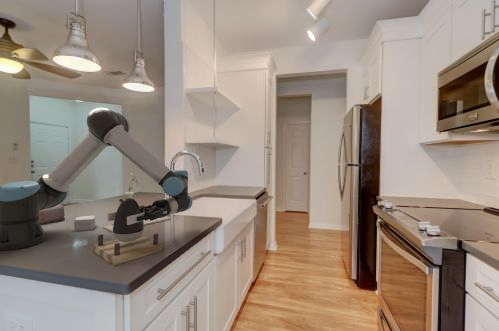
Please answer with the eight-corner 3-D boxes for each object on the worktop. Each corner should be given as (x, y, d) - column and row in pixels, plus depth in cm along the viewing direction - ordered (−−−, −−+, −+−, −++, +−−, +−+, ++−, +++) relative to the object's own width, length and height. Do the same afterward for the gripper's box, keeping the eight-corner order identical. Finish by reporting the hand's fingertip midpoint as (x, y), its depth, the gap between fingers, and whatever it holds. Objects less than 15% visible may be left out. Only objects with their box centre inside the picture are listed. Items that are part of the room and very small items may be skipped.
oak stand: (93, 251, 89) (93, 235, 88) (139, 240, 102) (139, 225, 102) (113, 265, 78) (113, 246, 78) (162, 250, 91) (162, 234, 91)
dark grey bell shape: (132, 233, 97) (132, 194, 96) (150, 238, 92) (150, 197, 91) (106, 240, 88) (106, 198, 88) (124, 246, 83) (124, 201, 82)
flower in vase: (137, 219, 135) (138, 173, 134) (115, 219, 133) (115, 173, 132) (143, 213, 147) (143, 172, 147) (122, 214, 145) (123, 172, 145)
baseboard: (100, 228, 118) (112, 234, 111) (100, 222, 118) (112, 227, 111) (158, 217, 143) (170, 220, 136) (158, 212, 143) (170, 215, 136)
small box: (94, 229, 115) (94, 218, 115) (73, 231, 112) (73, 220, 111) (95, 225, 122) (95, 215, 122) (76, 227, 118) (76, 216, 118)
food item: (34, 226, 117) (34, 206, 117) (26, 224, 121) (25, 204, 120) (66, 220, 129) (66, 201, 129) (57, 218, 133) (57, 200, 133)
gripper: (184, 219, 102) (140, 234, 81) (145, 213, 111) (96, 225, 90) (185, 201, 101) (140, 211, 81) (145, 196, 110) (96, 205, 90)
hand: (117, 219), depth 85 cm, fingers closed on dark grey bell shape, 9 cm apart
